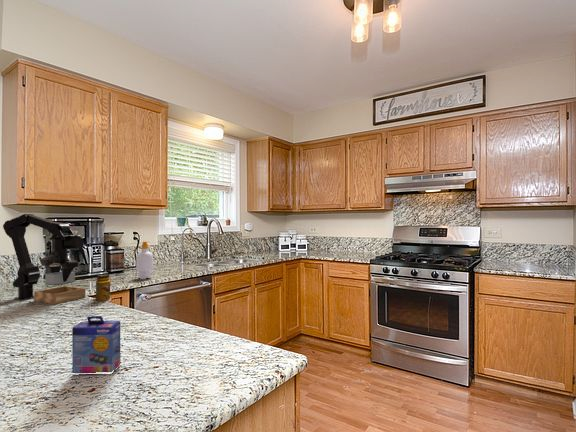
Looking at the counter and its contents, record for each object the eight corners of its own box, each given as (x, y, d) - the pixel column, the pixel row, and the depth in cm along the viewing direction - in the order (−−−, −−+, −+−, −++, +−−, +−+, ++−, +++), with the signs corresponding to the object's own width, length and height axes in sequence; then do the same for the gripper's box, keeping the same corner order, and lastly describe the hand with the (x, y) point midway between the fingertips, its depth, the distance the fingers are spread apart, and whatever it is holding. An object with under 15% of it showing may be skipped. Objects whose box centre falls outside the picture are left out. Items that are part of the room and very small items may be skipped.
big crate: (34, 301, 160) (34, 291, 160) (65, 294, 174) (65, 285, 174) (54, 304, 154) (54, 294, 154) (85, 297, 168) (85, 288, 168)
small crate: (53, 285, 158) (54, 274, 159) (45, 284, 161) (45, 274, 161) (74, 282, 168) (74, 271, 168) (66, 281, 170) (66, 271, 170)
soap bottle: (156, 278, 224) (156, 241, 224) (142, 280, 215) (142, 242, 215) (146, 276, 229) (146, 241, 229) (132, 278, 220) (133, 241, 221)
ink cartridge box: (70, 377, 83) (70, 318, 83) (82, 367, 89) (82, 311, 89) (112, 375, 84) (112, 317, 84) (121, 365, 90) (121, 311, 90)
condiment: (111, 300, 161) (111, 275, 162) (91, 303, 157) (91, 277, 157) (110, 297, 168) (110, 273, 168) (90, 300, 163) (90, 275, 163)
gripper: (30, 249, 161) (30, 282, 161) (55, 251, 153) (55, 285, 153) (54, 247, 171) (54, 278, 171) (79, 249, 164) (79, 281, 163)
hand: (60, 281), depth 164 cm, fingers closed on small crate, 6 cm apart
